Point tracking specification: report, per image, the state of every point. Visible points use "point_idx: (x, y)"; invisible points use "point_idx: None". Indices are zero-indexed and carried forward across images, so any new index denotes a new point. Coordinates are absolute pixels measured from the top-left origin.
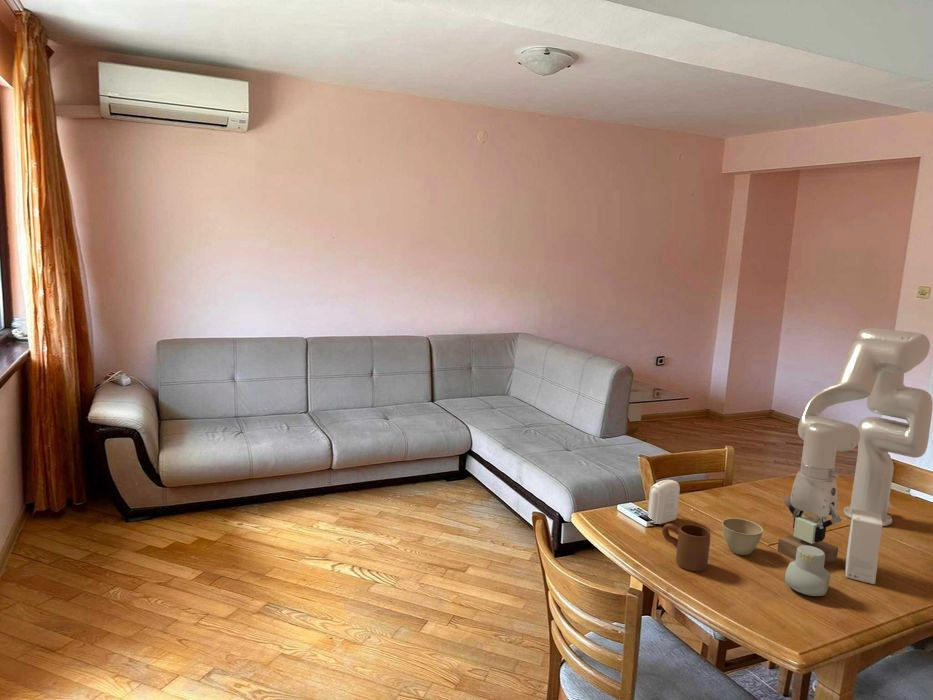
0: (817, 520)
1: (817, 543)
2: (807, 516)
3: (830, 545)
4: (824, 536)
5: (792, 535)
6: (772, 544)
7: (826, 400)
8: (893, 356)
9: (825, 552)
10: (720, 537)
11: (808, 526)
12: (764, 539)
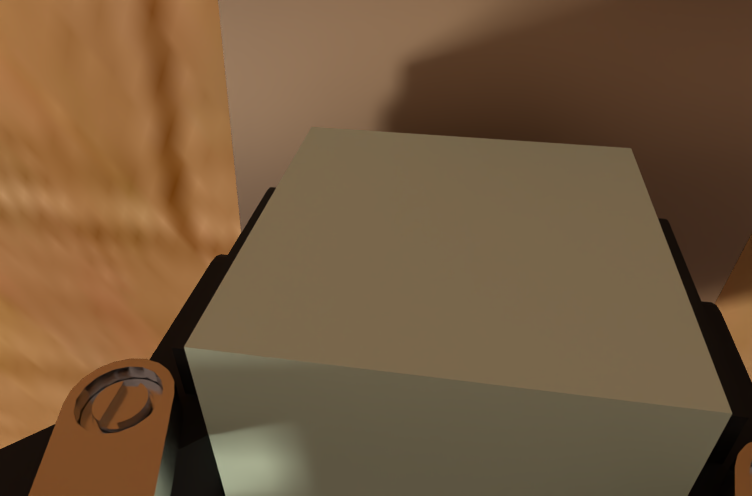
0: (546, 456)
1: (557, 129)
2: (280, 418)
3: (737, 16)
4: (719, 335)
5: (246, 180)
6: (180, 189)
7: None
8: None
9: (725, 277)
10: (4, 373)
11: None
12: (78, 156)
